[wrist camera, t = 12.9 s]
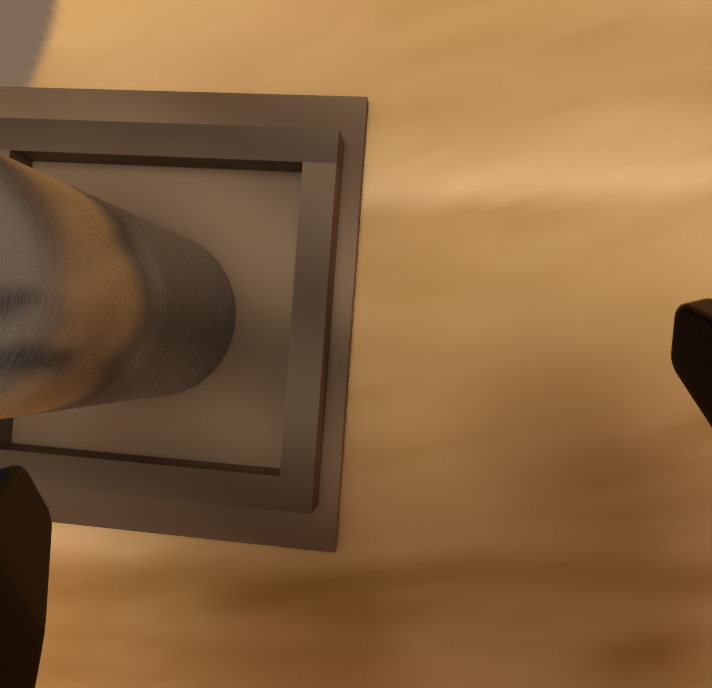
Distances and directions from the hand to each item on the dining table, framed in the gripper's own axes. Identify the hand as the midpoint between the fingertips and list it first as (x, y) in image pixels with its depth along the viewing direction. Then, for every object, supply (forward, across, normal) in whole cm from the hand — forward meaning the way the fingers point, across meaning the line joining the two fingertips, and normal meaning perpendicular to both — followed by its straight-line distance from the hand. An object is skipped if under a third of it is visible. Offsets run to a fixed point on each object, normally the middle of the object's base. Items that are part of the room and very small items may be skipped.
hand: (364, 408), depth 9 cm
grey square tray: (+13, +5, +4) cm, 14 cm away
